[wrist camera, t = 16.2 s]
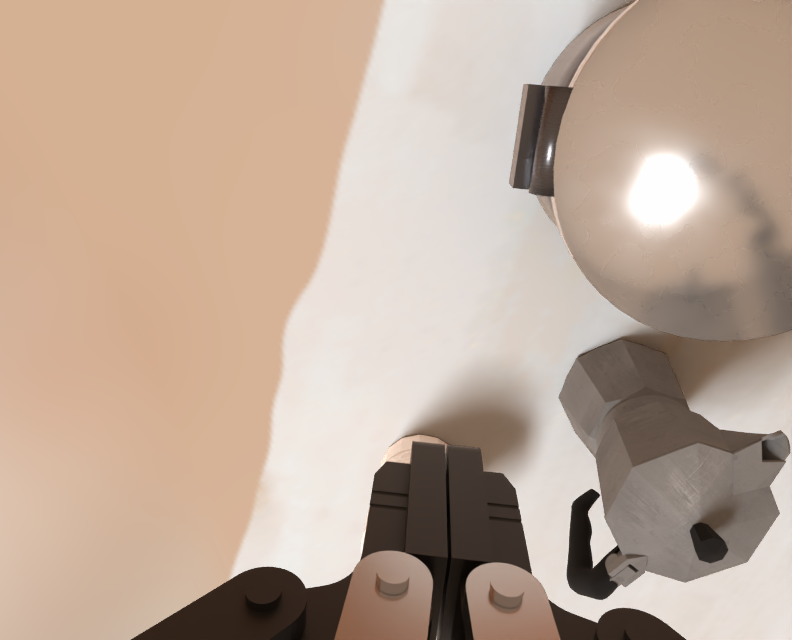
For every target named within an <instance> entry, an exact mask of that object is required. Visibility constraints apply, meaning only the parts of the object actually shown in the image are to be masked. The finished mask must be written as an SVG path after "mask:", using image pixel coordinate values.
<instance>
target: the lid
mask: <svg viewBox="0 0 792 640" xmlns="http://www.w3.org/2000/svg"><path fill="white" fill-rule="evenodd" d="M529 193H531V194H535V195H540V196H548V197H551V201H552V207H553V212H554V216H555V219H556V222H557V225H558V228H559V232H560V234H561V236H562V238H563V240H564V242H565V245H566V247H567V249H568V251H569V253H570V254H571V256H572V257H573V259H574V260H575V262H576V263H577V265H578V266H579V268H580V269H581V271H582V272H583V274H584V275H585V277H586V278H587V279H588V280H589V281H590V283H591V284H592V285H593V286H594V287H595V288H596V289H597V290H598V292H599V293H600V294H601V295H602V296H603V297H605V298H606V299H607V300H608V301H609V302H611V303H612V304H613V305H614V306H615V307H616V308H618V309H619V310H621V311H622V312H624V313H626V314H627V315H629V316H630V317H632V318H633V319H635V320H637V321H639V322H641V323H643V324H646V325H648V326H650V327H652V328H654V329H657V330H660V331H663V332H666V333H670V334H673V335H676V336H680V337H686V338H692V339H698V340H709V341H737V340H750V339H756V338H761V337H767V336H772V335H776V334H780V333H783V332H786V331H790V330H792V0H636V1H634V2H633V3H632V4H631V5H630V6H629V7H628V8H627V9H626V10H625V11H623V12H622V13H621V14H620V15H619V16H618V17H617V18H616V19H615V20H614V21H613V22H612V23H611V24H610V25H609V26H608V28H607V29H606V30H605V31H604V32H603V34H602V35H601V36H600V37H599V38H598V39H597V41H596V42H595V43H594V44H593V46H592V47H591V49H590V50H589V52H588V53H587V55H586V56H585V58H584V59H583V61H582V62H581V64H580V65H579V67H578V69H577V71H576V73H575V75H574V77H573V79H572V81H571V83H570V85H569V86H568V87H561V86H548V85H546V87H545V93H544V99H543V105H542V112H541V118H540V124H539V131H538V137H537V143H536V149H535V156H534V162H533V168H532V175H531V181H530V187H529Z"/></svg>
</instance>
